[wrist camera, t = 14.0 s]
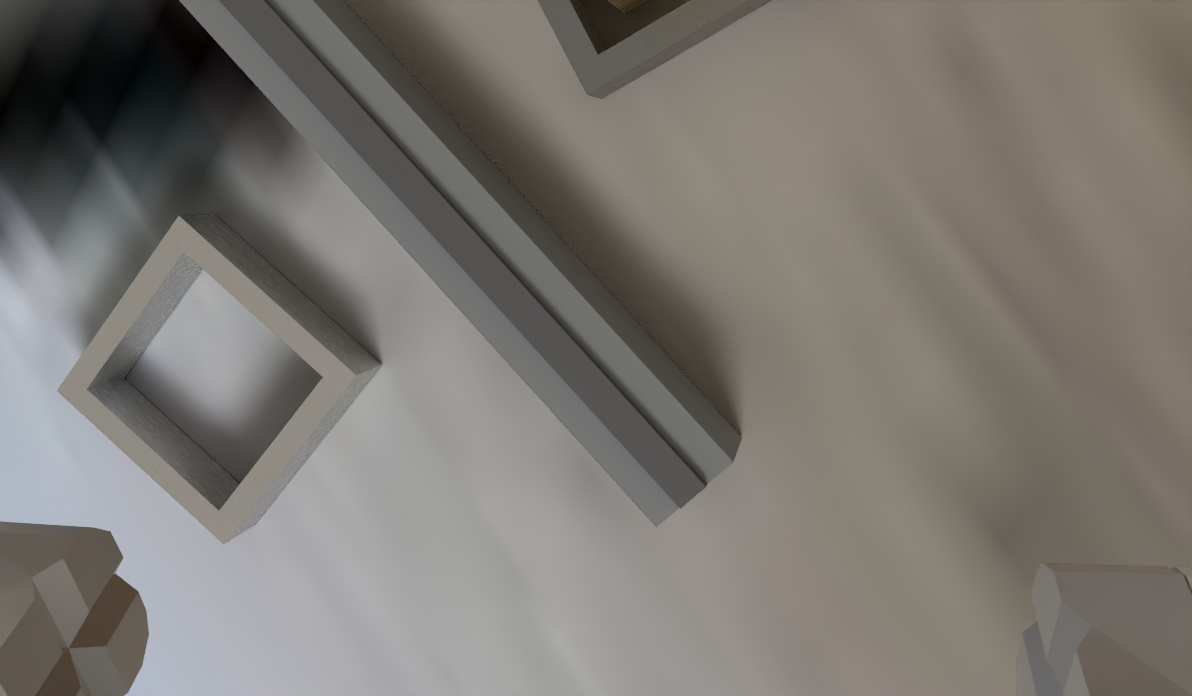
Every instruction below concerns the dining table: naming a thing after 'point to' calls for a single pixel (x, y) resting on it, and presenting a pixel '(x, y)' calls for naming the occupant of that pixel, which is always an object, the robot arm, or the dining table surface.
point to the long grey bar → (480, 244)
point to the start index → (158, 439)
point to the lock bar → (626, 4)
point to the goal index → (636, 39)
